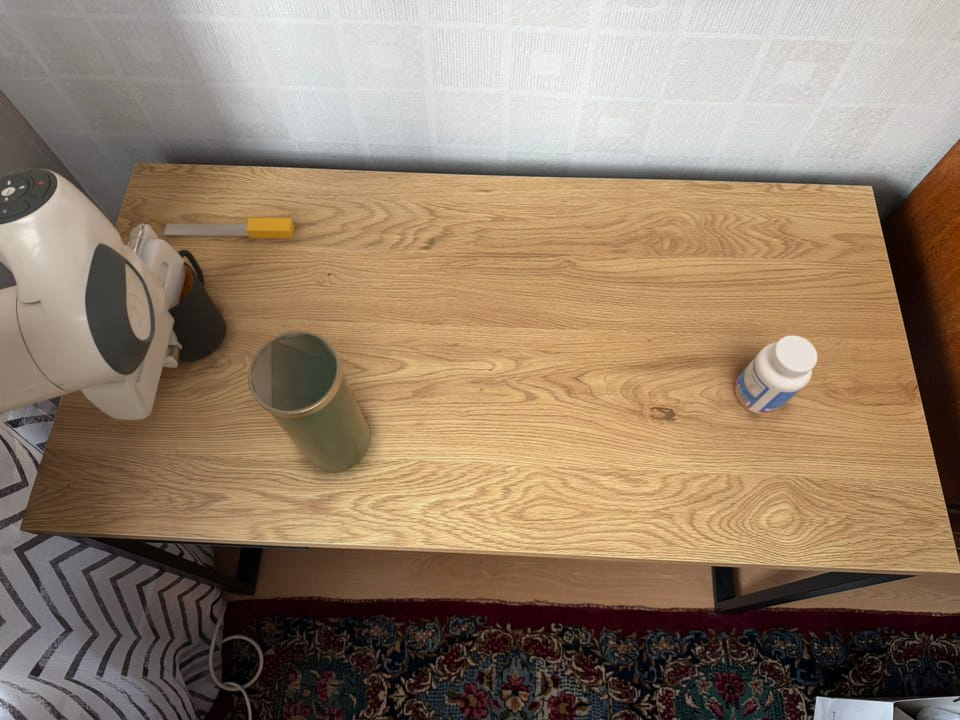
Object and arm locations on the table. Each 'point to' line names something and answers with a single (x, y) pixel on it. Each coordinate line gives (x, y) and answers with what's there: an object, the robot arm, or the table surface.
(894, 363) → the table surface
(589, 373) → the table surface
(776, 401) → the pill bottle
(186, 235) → the knife
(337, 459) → the canister
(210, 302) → the mug
